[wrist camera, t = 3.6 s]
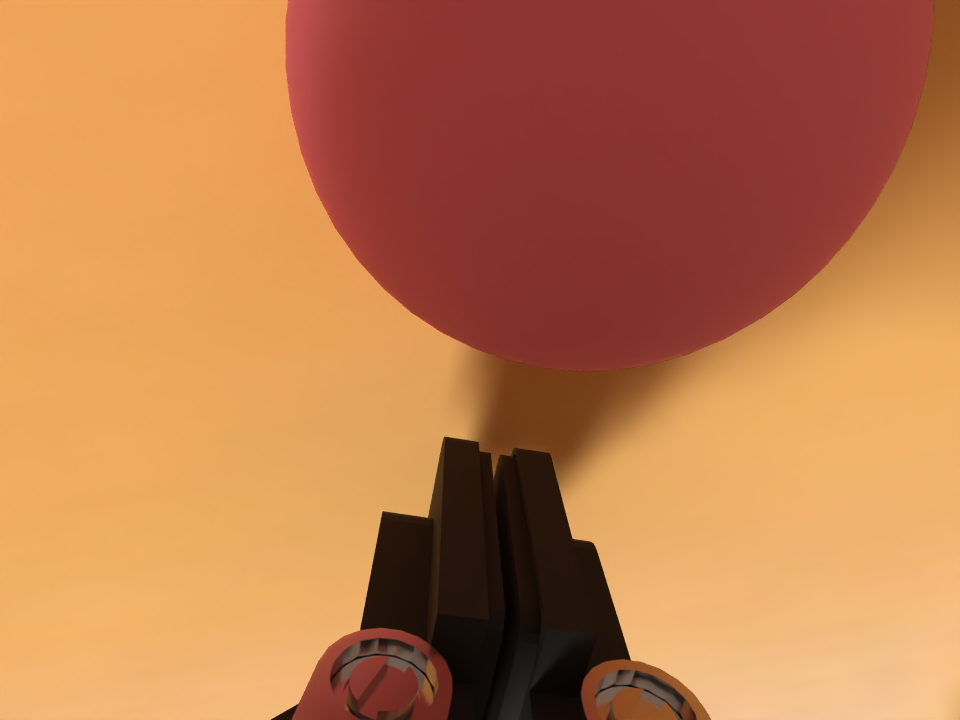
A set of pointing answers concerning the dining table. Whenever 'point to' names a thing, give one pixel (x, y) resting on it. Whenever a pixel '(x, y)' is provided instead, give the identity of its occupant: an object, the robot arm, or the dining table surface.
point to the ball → (600, 158)
